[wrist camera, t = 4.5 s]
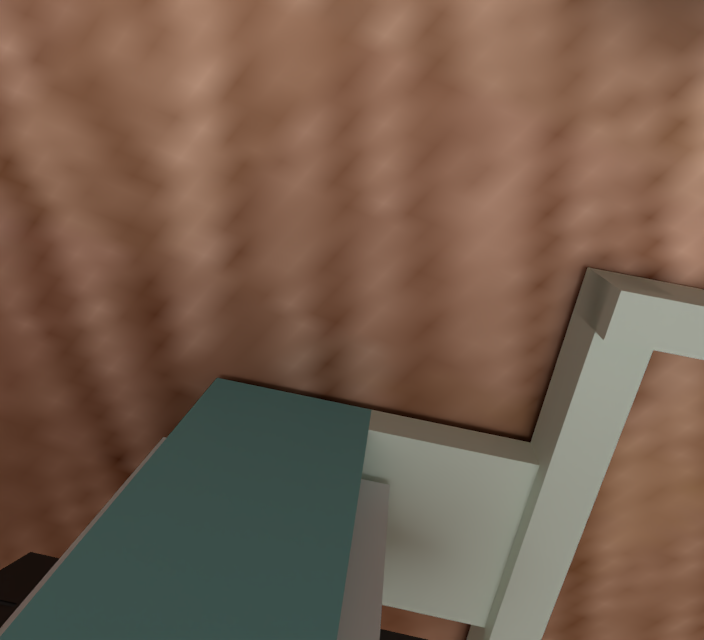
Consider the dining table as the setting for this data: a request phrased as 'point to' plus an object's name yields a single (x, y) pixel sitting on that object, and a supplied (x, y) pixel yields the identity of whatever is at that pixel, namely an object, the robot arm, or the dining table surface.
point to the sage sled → (342, 497)
